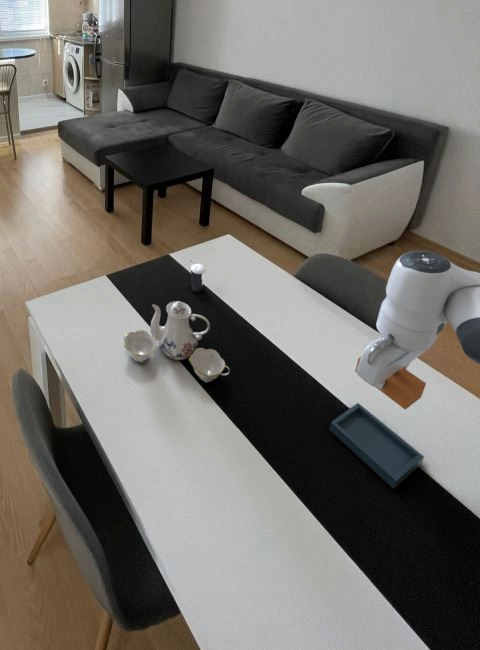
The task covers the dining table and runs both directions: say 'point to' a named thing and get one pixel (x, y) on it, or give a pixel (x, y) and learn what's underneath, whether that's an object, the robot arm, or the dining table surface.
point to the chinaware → (176, 342)
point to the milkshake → (197, 276)
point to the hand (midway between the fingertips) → (389, 378)
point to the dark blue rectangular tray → (376, 445)
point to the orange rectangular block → (402, 387)
